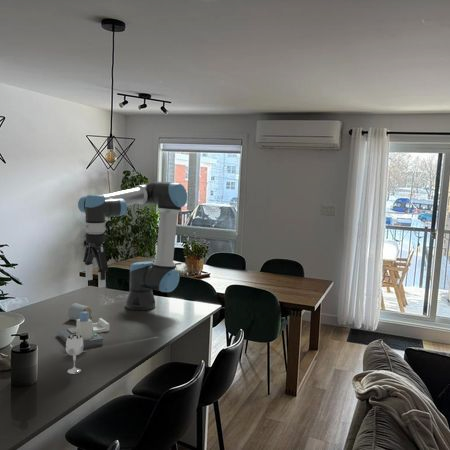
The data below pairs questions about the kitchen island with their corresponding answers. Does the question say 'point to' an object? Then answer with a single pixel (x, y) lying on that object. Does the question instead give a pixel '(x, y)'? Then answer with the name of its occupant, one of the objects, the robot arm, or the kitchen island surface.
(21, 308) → the kitchen island surface
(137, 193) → the robot arm
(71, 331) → the port panel
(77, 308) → the ceramic mug
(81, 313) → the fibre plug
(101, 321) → the holster
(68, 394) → the kitchen island surface
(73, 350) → the wineglass
